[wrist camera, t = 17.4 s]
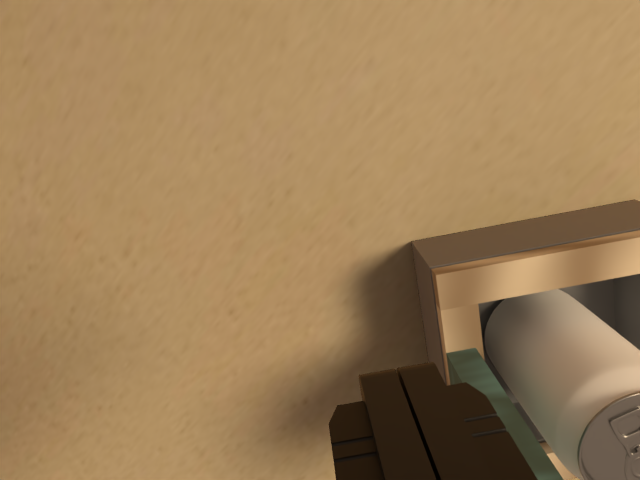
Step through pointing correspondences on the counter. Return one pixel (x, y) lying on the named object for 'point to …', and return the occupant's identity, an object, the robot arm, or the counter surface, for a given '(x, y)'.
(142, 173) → the counter surface
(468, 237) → the housing
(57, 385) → the counter surface
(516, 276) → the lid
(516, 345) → the can
